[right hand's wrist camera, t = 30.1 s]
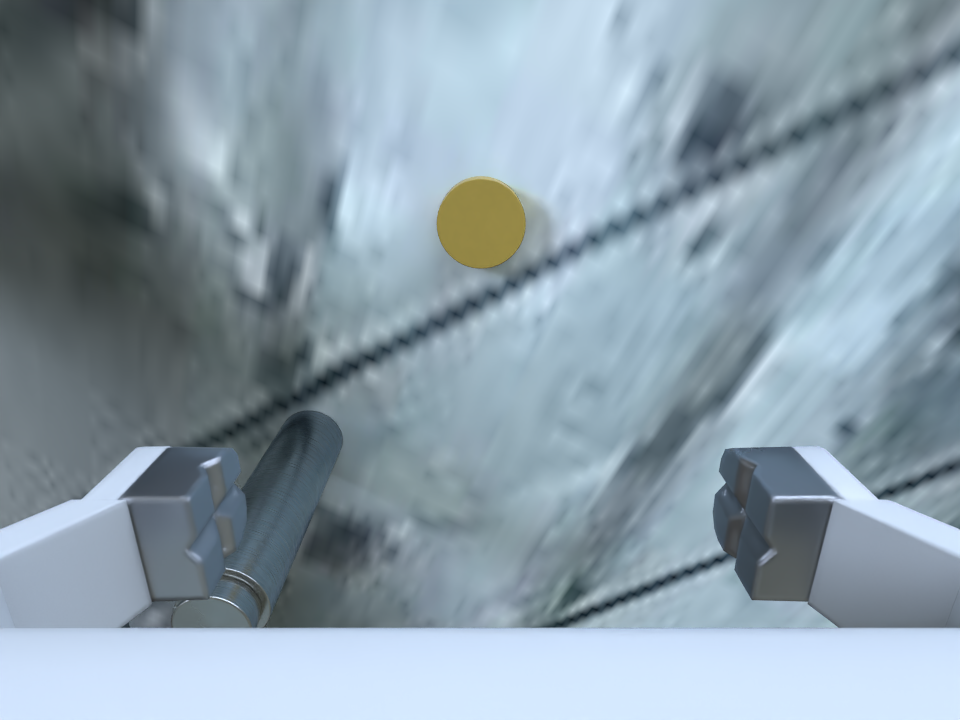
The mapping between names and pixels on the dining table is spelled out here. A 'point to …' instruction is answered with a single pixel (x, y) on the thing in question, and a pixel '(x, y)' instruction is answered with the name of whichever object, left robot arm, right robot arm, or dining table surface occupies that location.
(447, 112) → the dining table surface
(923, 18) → the dining table surface
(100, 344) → the dining table surface
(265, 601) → the dark grey cylinder
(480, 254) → the lid
